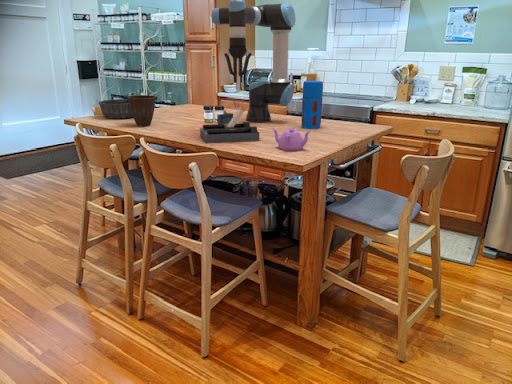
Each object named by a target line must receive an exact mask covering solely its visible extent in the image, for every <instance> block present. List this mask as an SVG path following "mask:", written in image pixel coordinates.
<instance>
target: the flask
mask: <svg viewBox="0 0 512 384" xmlns="http://www.w3.org/2000/svg"><path fill="white" fill-rule="evenodd" d="M233 116H234V113H232V112H227V111H226V109H225V110H223V111H222V113H218V114H216V117H217V121H216V124H229V122H230V121H231V119H232V118H233Z"/></svg>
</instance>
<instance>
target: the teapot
mask: <svg viewBox="0 0 512 384" xmlns="http://www.w3.org/2000/svg"><path fill="white" fill-rule="evenodd" d="M272 130H273V133H274V139H275V142H276V143H277V145H278V148H280V150H283V151H285V152H286V151H287V152H297V151H301V150H302V149H303V148H305V146H306V144H307V143H308V139H309V134H310V133H311V130H310V131H306V132H305V134H304V138H303V136H302V134H301V132H300V131H299V130H297V129H294V128H289V129H288V130H284V131H283V133H282V134H281V136H279V132H278V130H277V129H275V128H272Z"/></svg>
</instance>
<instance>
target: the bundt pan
mask: <svg viewBox="0 0 512 384" xmlns="http://www.w3.org/2000/svg"><path fill="white" fill-rule="evenodd" d="M97 104H98V105H99V107H100V111H101V114H102V115H103V116H104V117H106V118H108V119H117V120H120V119H126V118H127V119H130V118H133V115H132V112H131V109H130V105H129V101H128V98H118V99H117V98H116V99H107V100H106V99H105V100H102V101H98V102H97Z"/></svg>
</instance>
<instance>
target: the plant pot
mask: <svg viewBox="0 0 512 384" xmlns="http://www.w3.org/2000/svg"><path fill="white" fill-rule="evenodd" d="M156 98H157V97H156V95H155V96H154V95H145V94H143V95H138V94H137V95H129V96H127V99H128V101H129V105H130V109H131V112H132V115H133V117H132V118H133V120H134V122H135V124H136V126H137V127H149V126H150V127H151V124H152V121H153V118H154V113H155V108H156V107H155V106H156Z"/></svg>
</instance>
